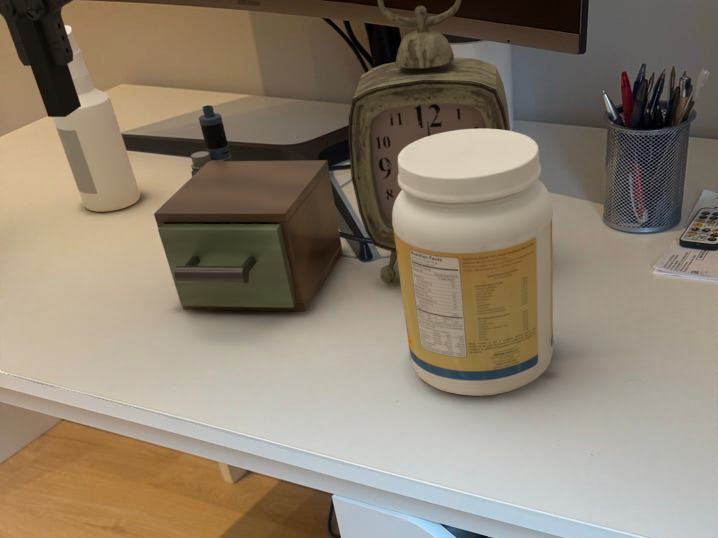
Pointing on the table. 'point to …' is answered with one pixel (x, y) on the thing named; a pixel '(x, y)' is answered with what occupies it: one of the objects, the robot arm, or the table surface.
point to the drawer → (229, 264)
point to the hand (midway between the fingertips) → (64, 111)
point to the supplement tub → (475, 260)
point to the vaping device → (211, 140)
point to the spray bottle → (95, 144)
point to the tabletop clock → (414, 115)
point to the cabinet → (268, 213)
